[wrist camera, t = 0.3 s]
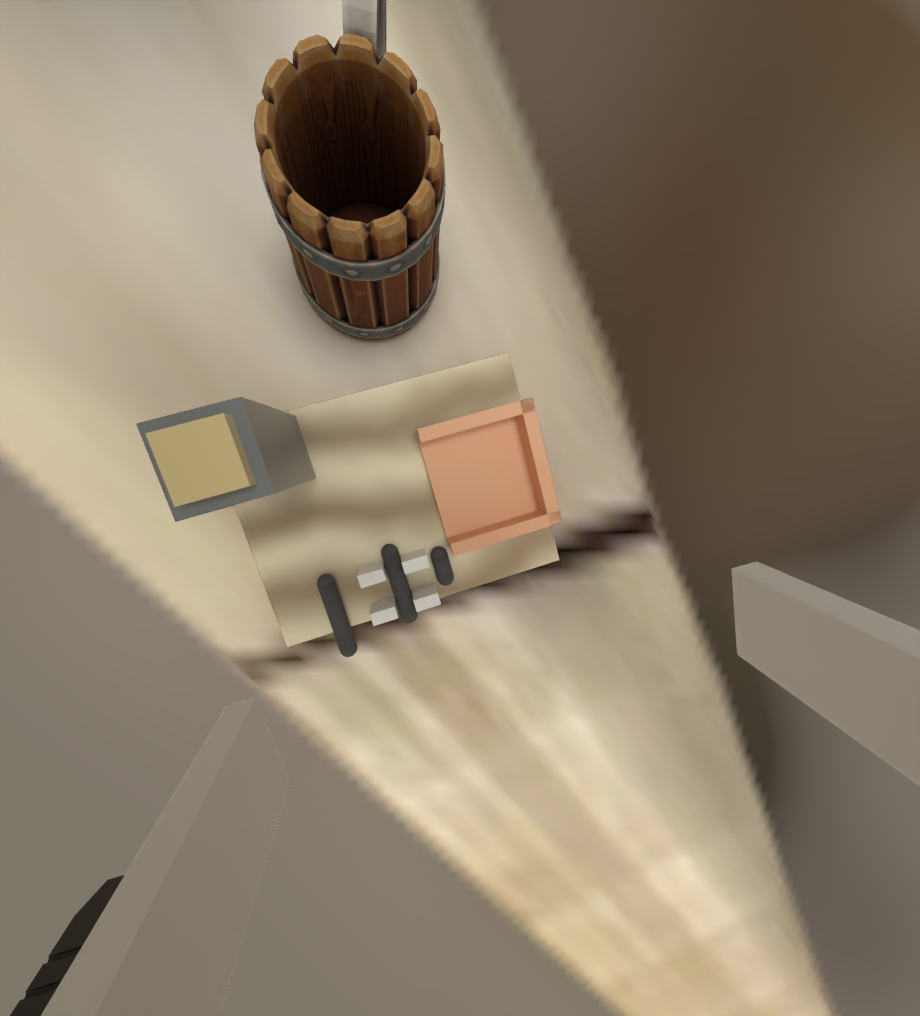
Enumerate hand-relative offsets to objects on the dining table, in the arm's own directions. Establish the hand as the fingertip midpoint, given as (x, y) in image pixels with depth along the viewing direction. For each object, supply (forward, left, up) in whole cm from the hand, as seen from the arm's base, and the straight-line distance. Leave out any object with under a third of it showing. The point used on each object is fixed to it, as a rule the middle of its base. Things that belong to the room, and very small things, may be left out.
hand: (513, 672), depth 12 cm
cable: (+5, -5, -25) cm, 26 cm away
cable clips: (+4, -4, -25) cm, 25 cm away
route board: (-3, -2, -26) cm, 26 cm away
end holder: (-3, +5, -25) cm, 25 cm away
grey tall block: (-9, -10, -25) cm, 28 cm away
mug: (-23, +2, -26) cm, 34 cm away
